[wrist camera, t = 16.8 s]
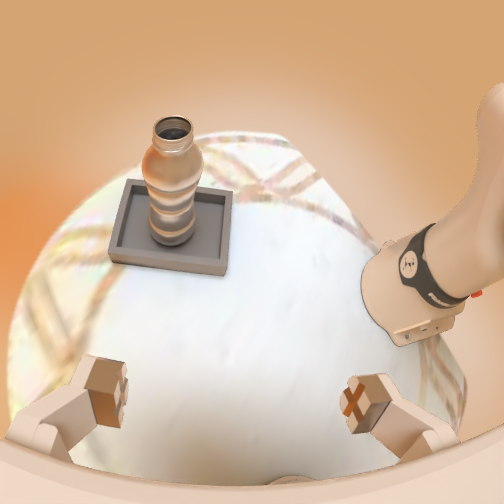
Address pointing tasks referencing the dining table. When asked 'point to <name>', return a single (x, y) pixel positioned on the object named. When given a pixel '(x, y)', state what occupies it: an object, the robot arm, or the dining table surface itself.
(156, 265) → the tray
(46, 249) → the dining table surface
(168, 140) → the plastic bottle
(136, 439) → the dining table surface
